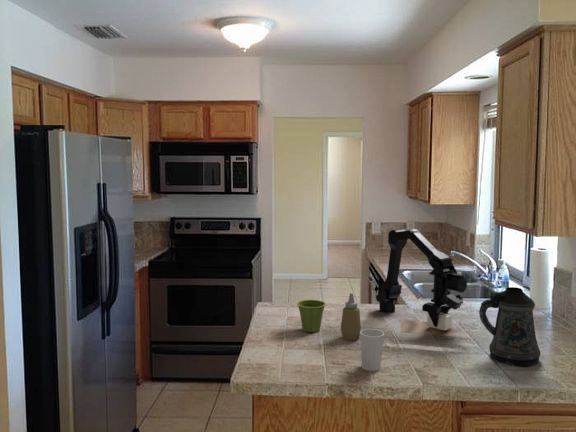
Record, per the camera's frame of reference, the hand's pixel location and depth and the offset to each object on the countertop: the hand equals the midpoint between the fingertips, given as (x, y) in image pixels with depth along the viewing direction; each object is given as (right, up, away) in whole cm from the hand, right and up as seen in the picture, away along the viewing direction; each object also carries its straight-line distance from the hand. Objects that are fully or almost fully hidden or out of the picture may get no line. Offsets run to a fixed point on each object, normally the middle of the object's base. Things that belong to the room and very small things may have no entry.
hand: (439, 324), depth 203 cm
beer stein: (+17, -6, -26) cm, 32 cm away
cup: (-33, -7, -34) cm, 49 cm away
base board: (-5, -3, +1) cm, 6 cm away
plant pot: (-52, -3, +3) cm, 52 cm away
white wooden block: (0, -2, 0) cm, 2 cm away
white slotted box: (0, -1, 0) cm, 1 cm away
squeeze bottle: (-37, -4, -7) cm, 38 cm away
